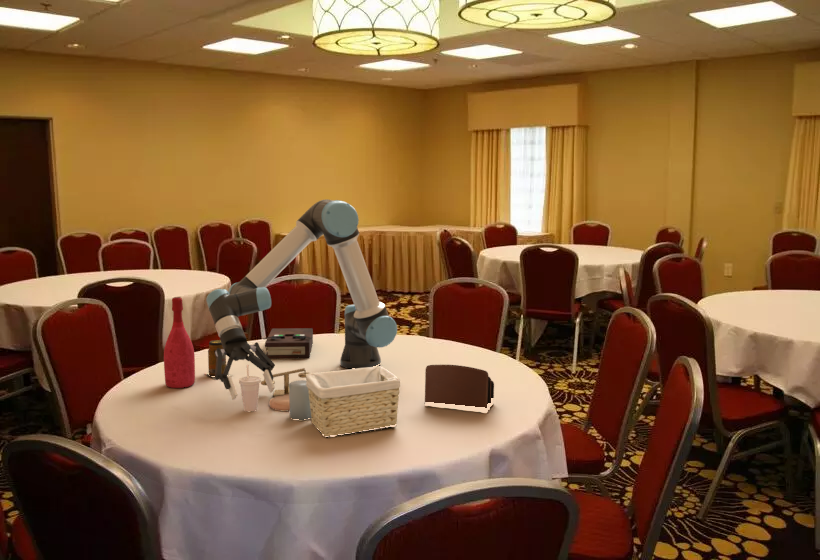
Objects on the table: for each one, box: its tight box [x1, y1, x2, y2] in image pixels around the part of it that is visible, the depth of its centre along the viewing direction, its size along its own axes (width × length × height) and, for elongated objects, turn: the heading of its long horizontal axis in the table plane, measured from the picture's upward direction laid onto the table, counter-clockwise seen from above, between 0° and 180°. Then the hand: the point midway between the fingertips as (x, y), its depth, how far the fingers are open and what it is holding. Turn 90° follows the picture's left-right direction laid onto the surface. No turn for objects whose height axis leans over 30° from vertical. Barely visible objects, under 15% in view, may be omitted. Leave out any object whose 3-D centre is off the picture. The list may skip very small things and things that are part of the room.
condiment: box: [207, 339, 234, 380], centre depth 252 cm, size 7×8×12 cm
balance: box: [260, 367, 310, 398], centre depth 231 cm, size 16×5×9 cm, turn 93°
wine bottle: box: [163, 296, 196, 389], centre depth 238 cm, size 10×10×30 cm
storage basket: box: [305, 365, 401, 437], centre depth 203 cm, size 24×16×15 cm
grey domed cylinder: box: [289, 379, 312, 421], centre depth 210 cm, size 7×7×10 cm
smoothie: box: [238, 364, 262, 412], centre depth 215 cm, size 6×6×14 cm
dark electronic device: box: [262, 327, 314, 360], centre depth 288 cm, size 19×8×30 cm
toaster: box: [424, 364, 495, 408], centre depth 221 cm, size 10×20×14 cm, turn 71°
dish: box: [269, 395, 290, 412], centre depth 222 cm, size 12×12×1 cm
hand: (254, 393), depth 213 cm, fingers open, 11 cm apart
